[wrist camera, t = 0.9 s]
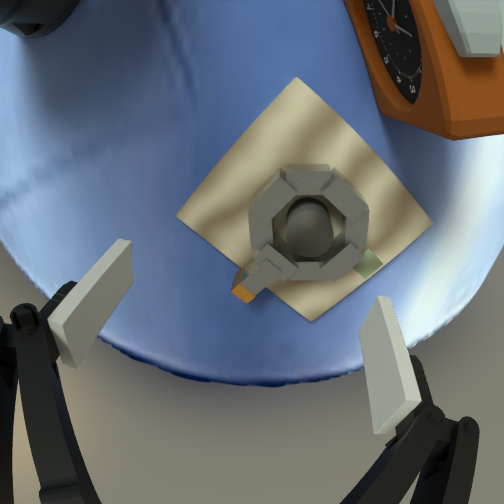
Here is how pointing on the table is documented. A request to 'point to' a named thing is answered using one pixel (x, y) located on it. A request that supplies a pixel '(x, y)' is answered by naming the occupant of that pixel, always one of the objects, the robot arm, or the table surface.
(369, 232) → the collar base
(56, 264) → the table surface
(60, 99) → the table surface
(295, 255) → the grey handled ring
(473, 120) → the alarm clock
